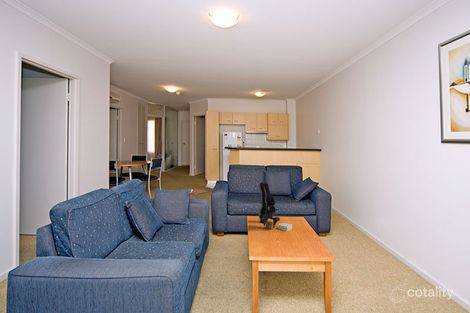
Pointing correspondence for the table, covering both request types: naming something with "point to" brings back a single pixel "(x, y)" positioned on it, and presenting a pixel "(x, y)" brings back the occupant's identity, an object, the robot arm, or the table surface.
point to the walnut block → (269, 225)
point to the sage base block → (284, 226)
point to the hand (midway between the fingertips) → (269, 227)
